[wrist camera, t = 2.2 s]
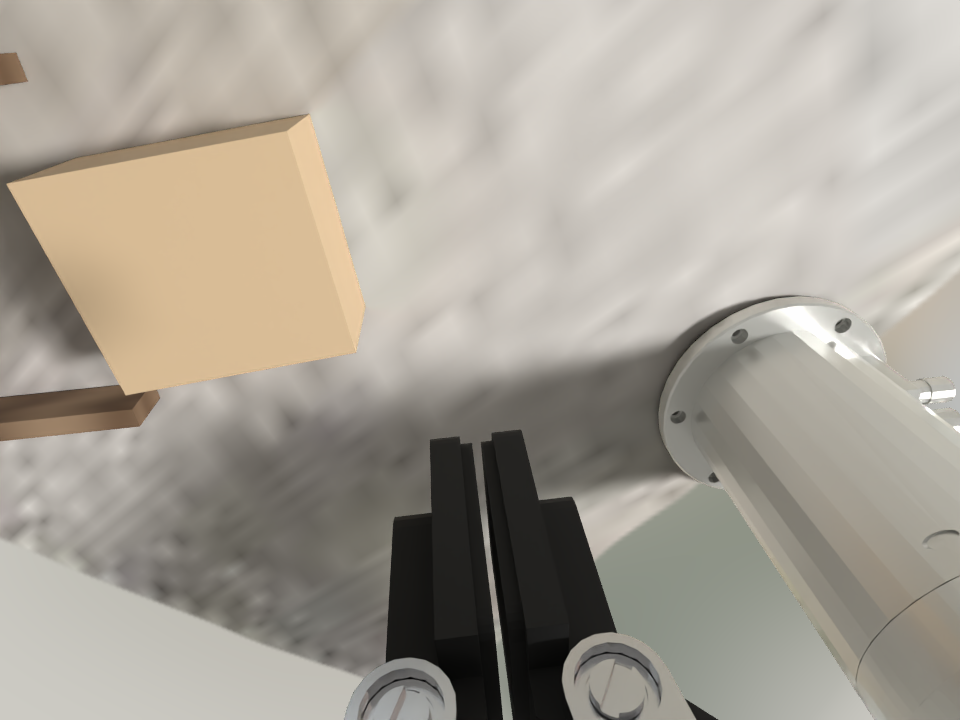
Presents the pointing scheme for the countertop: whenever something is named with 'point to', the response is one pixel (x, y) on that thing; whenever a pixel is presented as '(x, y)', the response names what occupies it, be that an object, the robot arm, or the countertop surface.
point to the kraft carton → (201, 253)
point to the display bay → (73, 406)
